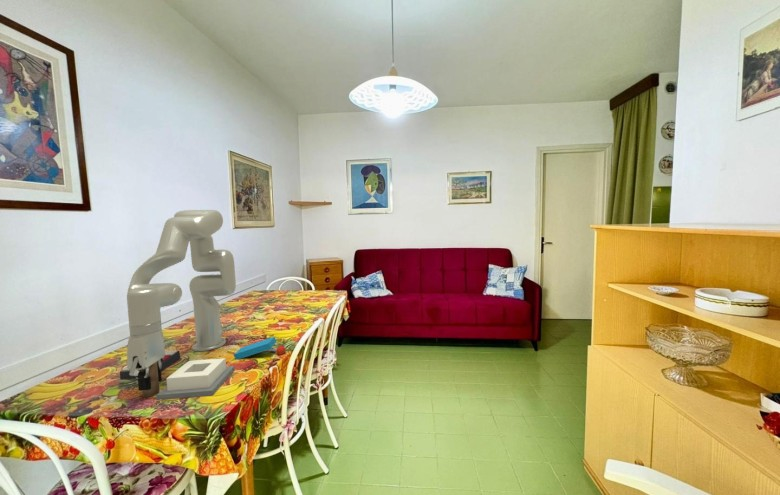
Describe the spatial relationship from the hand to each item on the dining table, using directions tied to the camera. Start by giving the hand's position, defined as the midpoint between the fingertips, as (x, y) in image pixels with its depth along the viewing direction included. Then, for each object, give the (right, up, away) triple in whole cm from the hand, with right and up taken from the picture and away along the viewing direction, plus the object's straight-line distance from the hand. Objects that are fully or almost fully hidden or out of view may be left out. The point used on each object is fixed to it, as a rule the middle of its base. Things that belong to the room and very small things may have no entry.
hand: (150, 385), depth 90 cm
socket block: (+12, -2, +6) cm, 13 cm away
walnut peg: (0, -3, 0) cm, 3 cm away
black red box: (-14, -3, +18) cm, 23 cm away
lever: (+23, -1, +27) cm, 35 cm away
